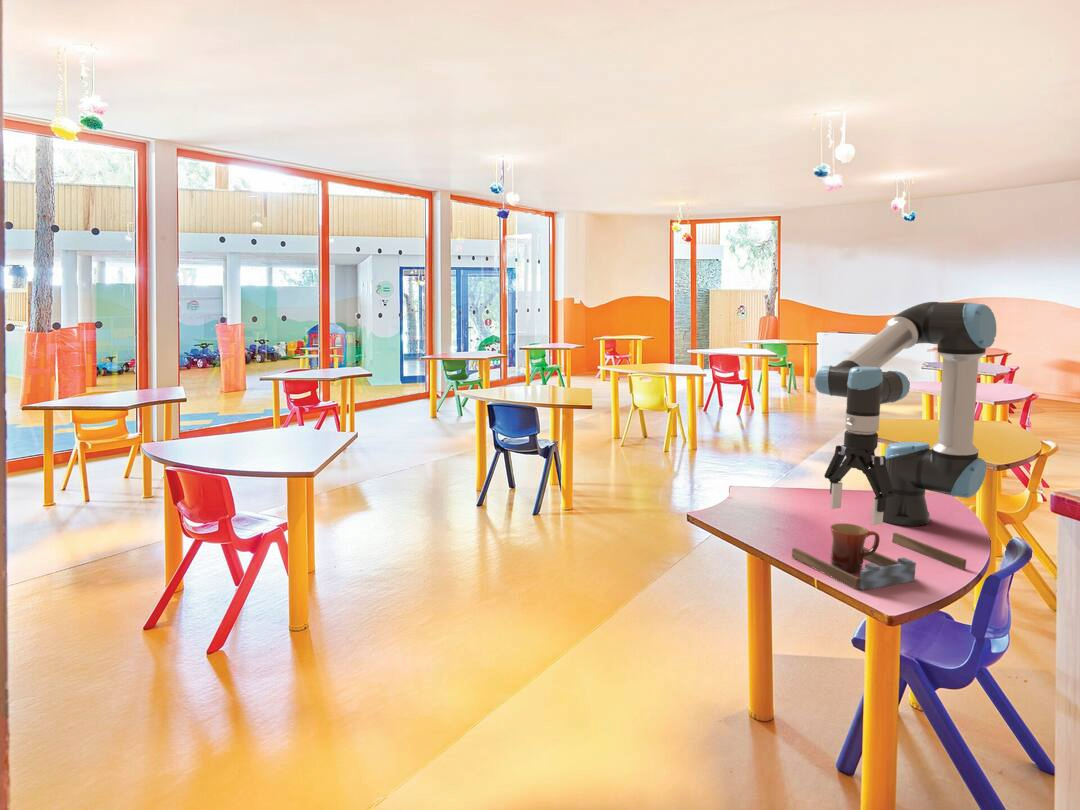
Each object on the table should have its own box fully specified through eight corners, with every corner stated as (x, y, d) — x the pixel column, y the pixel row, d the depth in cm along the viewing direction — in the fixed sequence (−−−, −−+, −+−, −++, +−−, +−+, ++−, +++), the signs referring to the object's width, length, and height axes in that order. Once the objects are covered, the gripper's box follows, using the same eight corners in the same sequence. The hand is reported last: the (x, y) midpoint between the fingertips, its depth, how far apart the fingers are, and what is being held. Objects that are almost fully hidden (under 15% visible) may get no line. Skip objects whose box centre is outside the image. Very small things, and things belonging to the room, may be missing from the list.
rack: (895, 541, 214) (896, 522, 213) (971, 571, 192) (973, 550, 191) (791, 557, 201) (793, 537, 200) (861, 592, 179) (863, 569, 178)
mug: (835, 575, 189) (838, 534, 187) (821, 562, 198) (824, 523, 196) (884, 575, 189) (888, 534, 188) (868, 562, 198) (871, 523, 196)
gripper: (813, 423, 198) (808, 503, 202) (890, 443, 176) (883, 533, 179) (836, 420, 201) (831, 500, 205) (915, 440, 178) (908, 529, 182)
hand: (855, 515), depth 192 cm, fingers open, 13 cm apart
